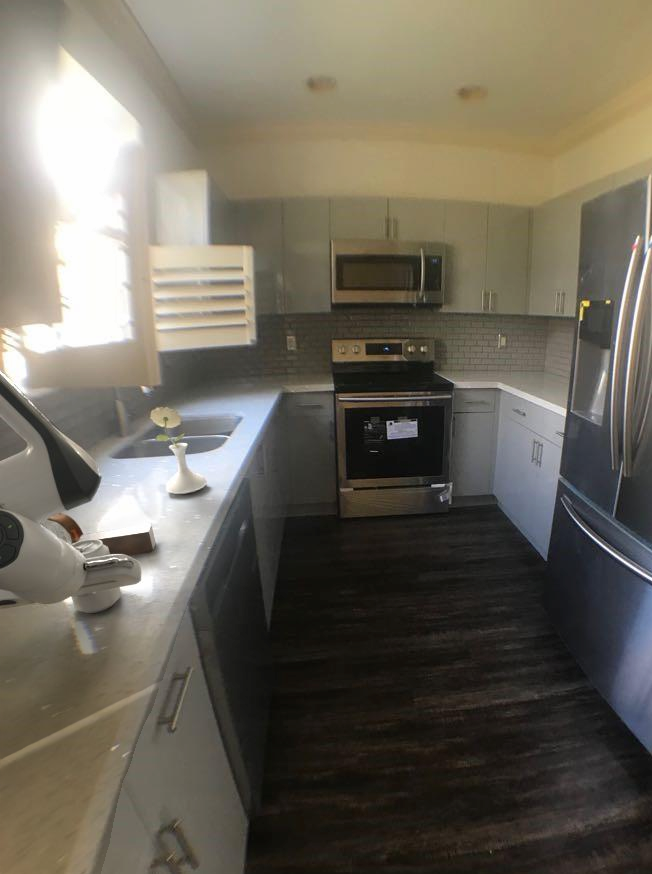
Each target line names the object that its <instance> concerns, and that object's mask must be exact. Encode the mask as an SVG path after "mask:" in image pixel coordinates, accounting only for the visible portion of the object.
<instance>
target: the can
mask: <svg viewBox="0 0 652 874" xmlns="http://www.w3.org/2000/svg"><path fill="white" fill-rule="evenodd" d="M71 546H73V547H74V548H75V549H77V550H78V551H80V552H81V553H82V554H83V556H84V557H85V559H89V558H95V557H101V556H107V555H110V552H109V549H108V547H107V546H105V545H103V543H102V541H101V540H98V539H88V540H83V541H79V542H76V543H73V544H71ZM121 595H122V591H121V587H118V588H112V589H107V590H102V591H96V594H94V595H88V596H83V597H78V598H76V597H73V596H70V597H71V600H72V603H73V607H74V609H75V610H76V611H78V612H82V613H86V614H94V613H100V612H103V611H105V610H107V609H109V608H111V607H112V606H113V605H115V604H116V602H117V601H118V600H119V599H120V597H121Z"/></svg>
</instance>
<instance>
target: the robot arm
mask: <svg viewBox="0 0 652 874" xmlns="http://www.w3.org/2000/svg"><path fill="white" fill-rule="evenodd" d="M0 418H1V419H2V420H3V421H4V422H5V423H6V424H7V425H8V426H9V427H10V428H11V429H12V430H13V431H15V433H16V434H18V435H19V436H20V437H21V438H22V439H23V440H24V441H25V442H26V443H27V444H26V445H27V446H26V447H25V449H24V450H22V451H20V452H18V453H16V454H14V455H12V456H9V457H7V458H5V459H2V460H0V610H1V609H3V610H4V609H12V608H17V607H22V606H26V605H27V606H28V605H33V604H39V605H53V604H58V603H60V602H61V603H62V602H64V601H66V600H67V599H69V598H70V597H71V596H73V597H76V598H78V597H83V596H88V595H94V594H96V591H102V590H107V589H112V588H118V587H120V588H123V587H127V586H132V585H133V586H134V585H137V584H139V583H140V582H141V581H142V565H141V562H140V561H139V560H137V559H135V558H134V557H132V556H131V555H128V556H127V555H123V554H113V555H107V556H101V557H95V558H89V559H85V557H84V556H83V554H82V553H81V552H80V551H78V550H77V549H75V548H74V547H73V546H71V545H70V544H68V543H67V542H65V541H64V540H62V539H60V538H58V537H57V536H56V535H55V534H54V533H53V532H51V531H50V530H48V529H47V528H45V527H44V526H42V525H40V524H39V523H41V522H43V521H45V520H47V519H49V518H51V517H53V516H55V515H57V514H59V513H63V512H65V511H66V512H67V511H70V510H73V509H75V508H77V507H80V506H82V505H85V504H88V503H91V502H92V501H93V500H94V498H95V496H96V494H97V492H98V490H99V489H100V485H101V483H102V479H103V477H102V475H101V472H100V469H99V467H98V466H97V465H98V464H97V463H96V462H95V460H94V459H93V458H92V456H91V455H90V454H89V453H88V452H87V451H86V450H84V449H83V448H82V446H80V445H79V444H77V443H76V442H75V441H73V440H72V439H70V438H69V436H67V435H66V434H64V433H63V432H62V431H61V429H59V428H58V427H57V426H56V424H55V423H53V422H52V421H51V419H49V418H48V417H47V416H46V415H45V414H44V413H43V412H42V411H41V410H40V408H39V407H37V405H36V404H35V403H33V402H32V400H31V399H29V397H28V396H27V395H26V394H24V392H23V391H22V390H21V389H20V388H19V387H18V386H17V385H16V384H15V383H14V382H13V381H12V380H11V379H10V378H9V377H8V376H7V375H6V374H5V373H4V372H3V371H2V370H1V369H0Z"/></svg>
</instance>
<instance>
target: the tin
mask: <svg viewBox="0 0 652 874" xmlns="http://www.w3.org/2000/svg"><path fill="white" fill-rule="evenodd" d="M39 524H40V525H42V526H44V527H45V528H47V529H48V530H50V531H51V532H53V533H54V534H55V535H56V536H57V537H58V538H60V539H62V540H64V541H65V542H67V543H68V544H70V545H71V544H73V543H76V542H77V541H78V540H79V538H80V537H81V535H83V534H84V532H83V531H82V529H81V527H80V525H79V524H78V522H77V521H76V520H75V519H74V518H73V517H72V516H70V515H69V514H66V513H63V512H61V513H59V514H57V515H55V516H53V517H51V518H49V519H47V520H45V521H43V522H41V523H39Z"/></svg>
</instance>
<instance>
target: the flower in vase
mask: <svg viewBox="0 0 652 874" xmlns="http://www.w3.org/2000/svg"><path fill="white" fill-rule="evenodd" d="M149 419H150V420H151V421H152V422H153V423H155V424H156V426H159V427H161V428H163V427H164V429H165V430H164V431H165V434H162V433H160V434H157V436H155V439H154V441H162V442H167V441H168V439H169V440H170V441H171V442H172V443H173V444H171V445H169V446H168V449H170V450H171V451H172V452H173V454H174V455H175V458H176V460H177V467H178V469H177V471H176V473H175V474H174V475H173V476H171V478H170V479H169V480H168V481H167V483H166V484H165V490H166V491H167V492H168V493H170V494H175V495H184V494H189V493H195V492H197V491H198V490H201V489H203V488H204V487H206V485H207V482H208V480H207V479H206V477H204V476H202V475H201V474H199V473H197V472H195V471H193V470H191V469H190V468H189V467H188V464H187V459H186V450H187V447H188V445H189V444H188V443H186V442H178V441H180V440H181V439H183V437H184V436H185V434H186V432H184V433H182V434H180V435H178V436H177V437H176V438H175V439H174V440H173V439H172V438H171V437H170V436H169V434H168V429H169V428H170V429H173V428H174V427H175V428H176V427H178V426H181V422H182V417H181V415H180V414H179V412H178V411H176V410H175V409H173V408H172V409H171V408H170V407H168V406H166V407H164V406H159V407H158V406H157V407H155V409H152V410H151V411H150V417H149ZM177 442H178V443H177Z"/></svg>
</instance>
